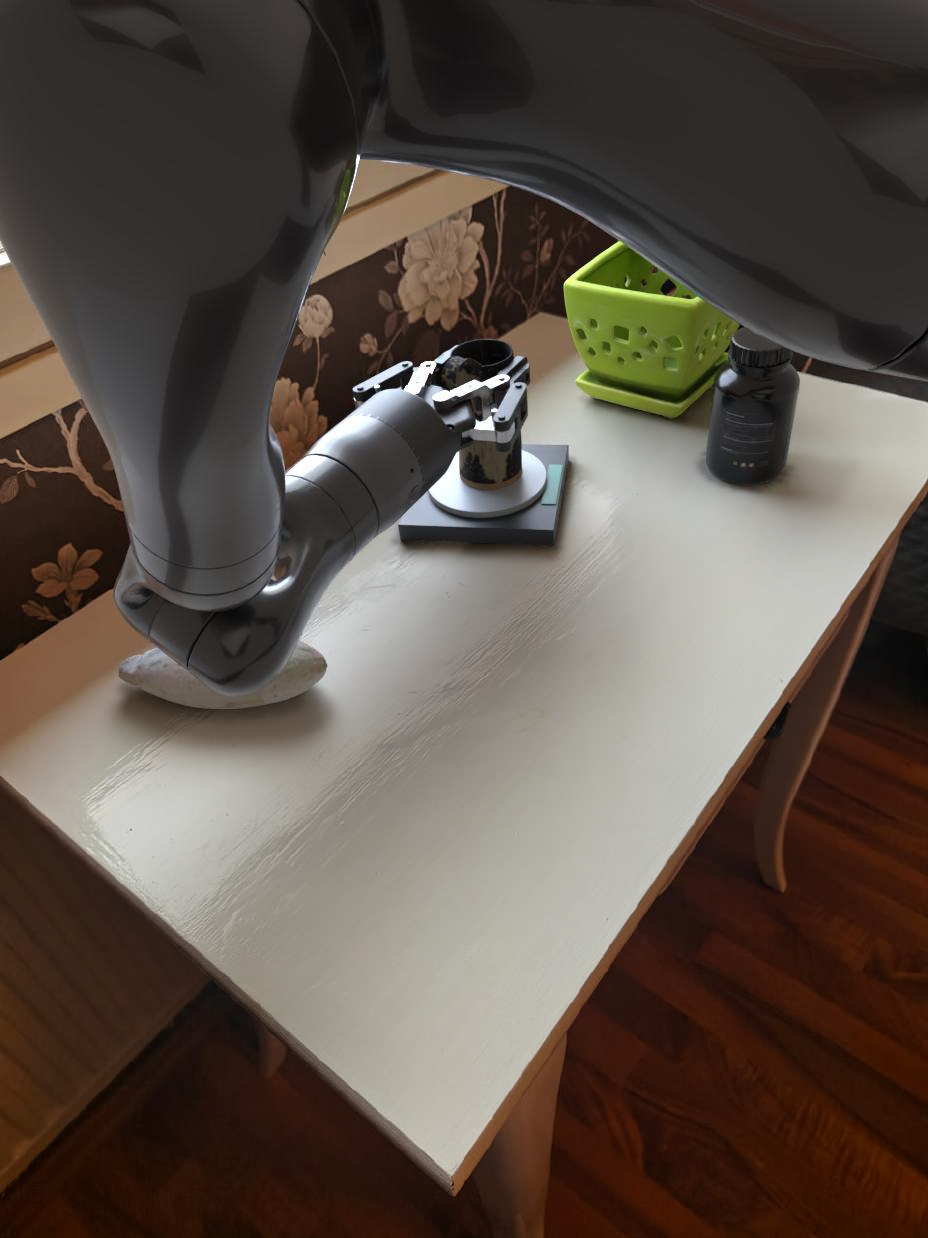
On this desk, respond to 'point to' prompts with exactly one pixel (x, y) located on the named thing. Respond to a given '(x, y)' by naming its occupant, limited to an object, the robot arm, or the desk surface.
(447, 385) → the mug
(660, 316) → the flower pot
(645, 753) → the desk surface
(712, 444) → the supplement bottle
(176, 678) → the decorative stone
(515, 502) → the scale
